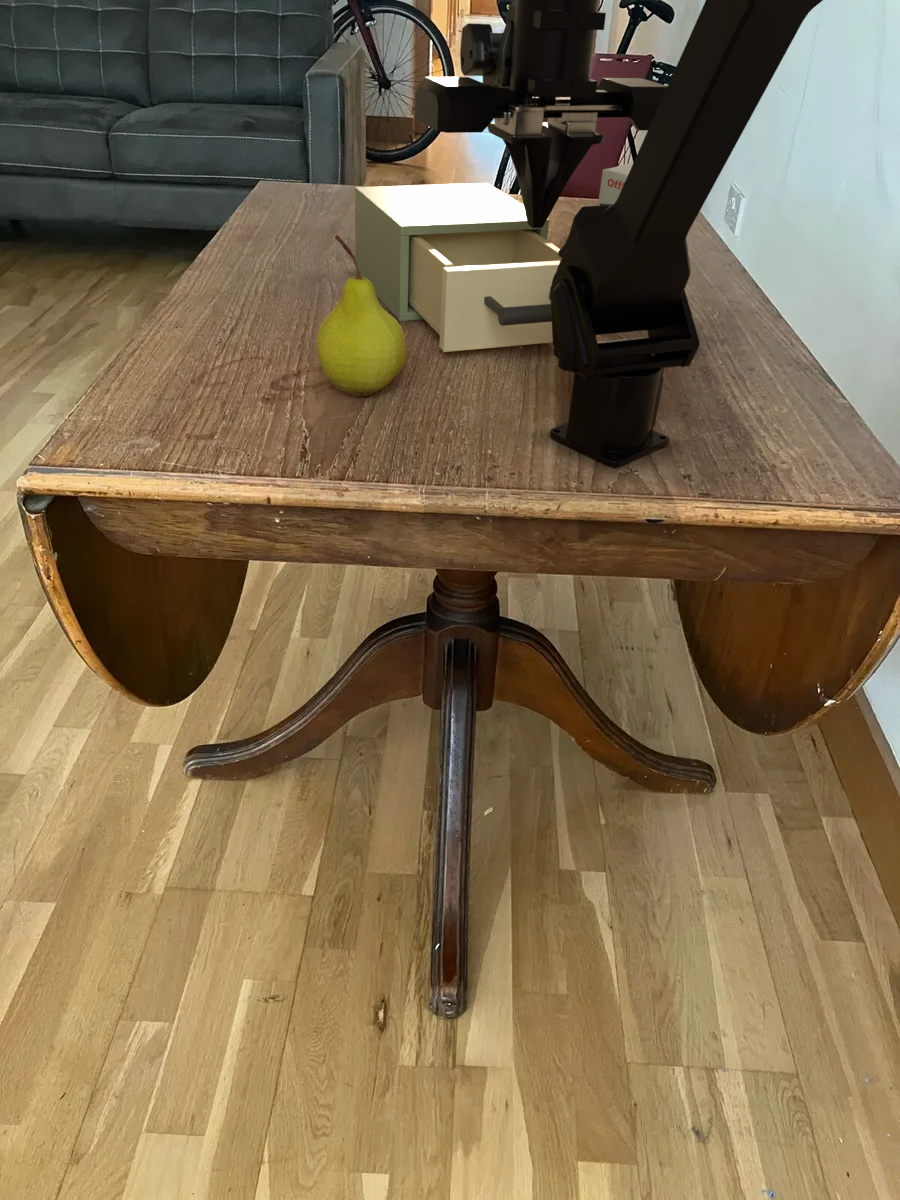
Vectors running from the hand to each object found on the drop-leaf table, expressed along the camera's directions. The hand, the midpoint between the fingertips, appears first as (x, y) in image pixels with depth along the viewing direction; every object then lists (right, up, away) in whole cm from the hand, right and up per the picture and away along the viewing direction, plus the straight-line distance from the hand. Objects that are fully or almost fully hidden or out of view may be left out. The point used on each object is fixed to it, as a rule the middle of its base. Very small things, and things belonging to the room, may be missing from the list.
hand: (535, 227), depth 74 cm
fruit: (-14, -13, +1) cm, 19 cm away
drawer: (-3, -4, +12) cm, 13 cm away
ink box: (+12, +3, +26) cm, 29 cm away
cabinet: (-7, +3, +23) cm, 24 cm away
